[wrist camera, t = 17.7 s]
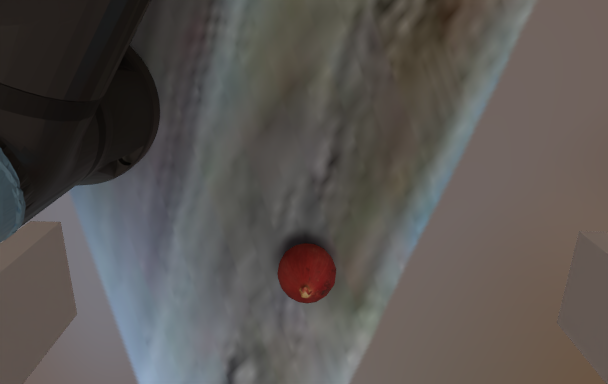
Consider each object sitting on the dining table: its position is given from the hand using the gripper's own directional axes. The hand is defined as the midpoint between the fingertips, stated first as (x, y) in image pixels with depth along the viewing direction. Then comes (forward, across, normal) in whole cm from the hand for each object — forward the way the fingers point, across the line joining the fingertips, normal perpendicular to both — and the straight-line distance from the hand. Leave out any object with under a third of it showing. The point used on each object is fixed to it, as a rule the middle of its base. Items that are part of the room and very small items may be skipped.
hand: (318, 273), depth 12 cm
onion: (+35, 0, -18) cm, 39 cm away
